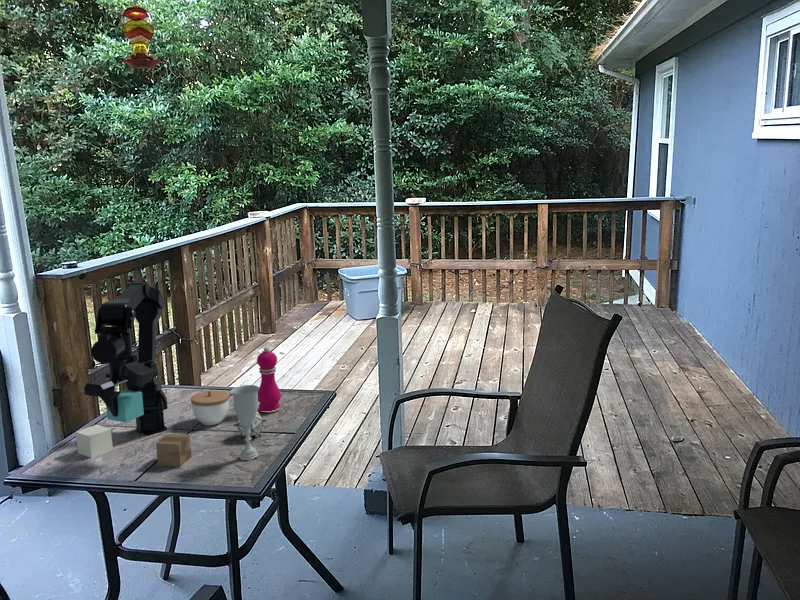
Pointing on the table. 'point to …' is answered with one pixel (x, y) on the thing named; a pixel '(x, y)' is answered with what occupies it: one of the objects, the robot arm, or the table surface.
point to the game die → (251, 426)
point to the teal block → (128, 406)
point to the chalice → (246, 414)
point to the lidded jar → (210, 406)
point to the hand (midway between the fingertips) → (125, 412)
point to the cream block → (94, 441)
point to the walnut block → (173, 450)
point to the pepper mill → (268, 381)
